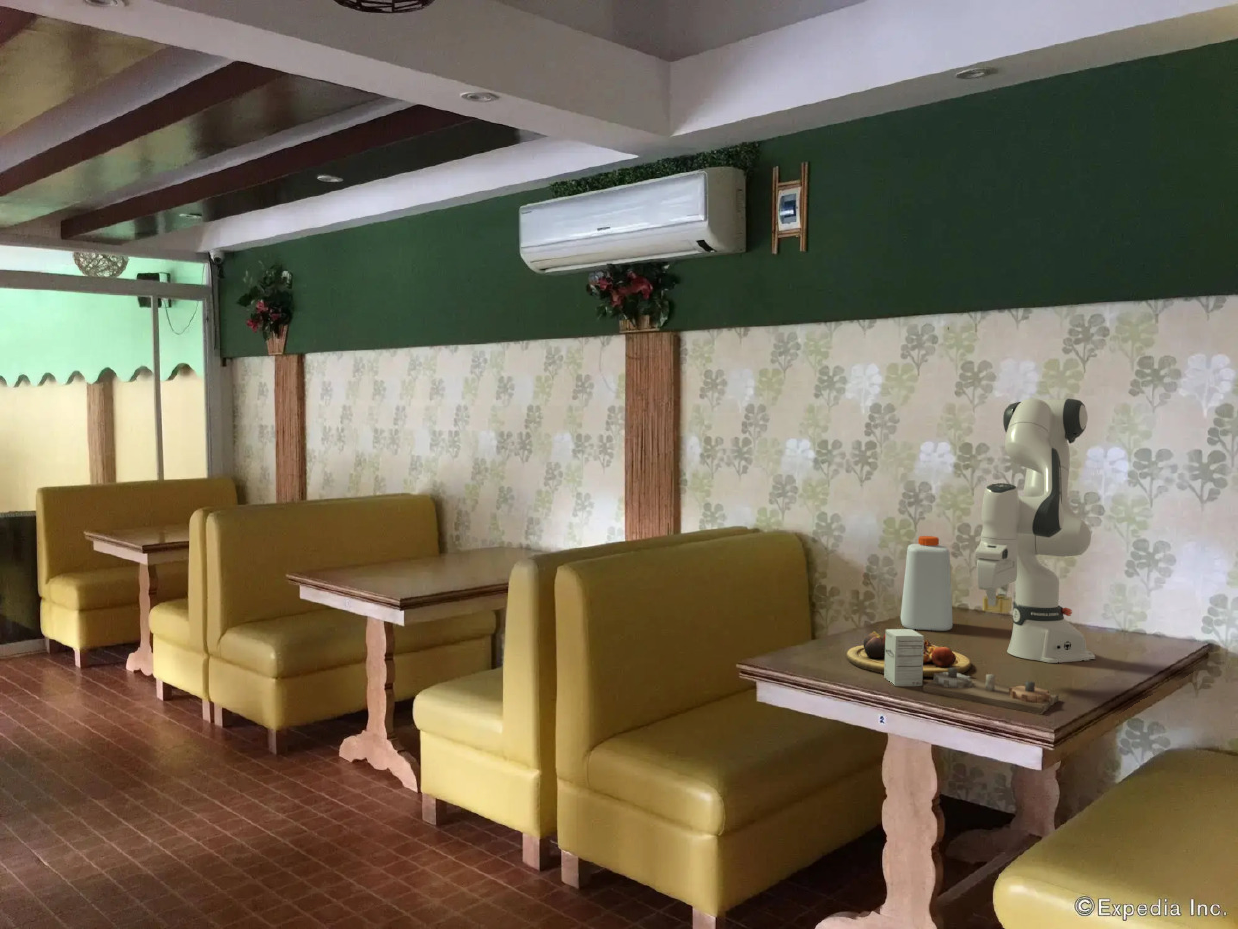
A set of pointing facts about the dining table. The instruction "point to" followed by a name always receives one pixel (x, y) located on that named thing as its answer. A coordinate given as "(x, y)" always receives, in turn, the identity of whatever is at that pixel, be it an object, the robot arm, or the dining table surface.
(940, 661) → the wooden plate with food
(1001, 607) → the brass gear
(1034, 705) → the gear board
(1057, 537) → the robot arm
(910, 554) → the plastic bottle
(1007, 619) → the dining table surface
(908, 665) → the supplement box
